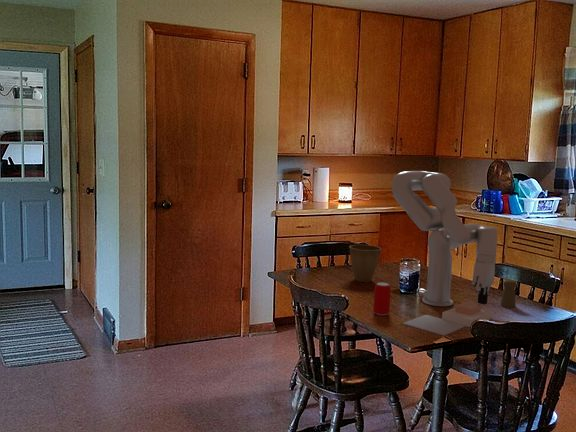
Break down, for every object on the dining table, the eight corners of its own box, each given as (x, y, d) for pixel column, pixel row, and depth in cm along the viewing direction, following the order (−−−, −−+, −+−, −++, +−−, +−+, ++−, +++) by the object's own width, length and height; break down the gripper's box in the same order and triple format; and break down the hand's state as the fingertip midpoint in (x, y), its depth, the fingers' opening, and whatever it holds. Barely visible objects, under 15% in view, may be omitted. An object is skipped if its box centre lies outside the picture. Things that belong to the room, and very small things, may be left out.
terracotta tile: (455, 311, 233) (455, 305, 233) (466, 307, 239) (467, 301, 239) (469, 315, 229) (470, 309, 228) (481, 310, 235) (481, 304, 235)
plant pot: (371, 286, 279) (373, 251, 277) (342, 280, 287) (344, 247, 285) (384, 279, 292) (386, 246, 289) (356, 274, 299) (357, 242, 297)
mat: (402, 324, 225) (402, 323, 225) (425, 315, 237) (425, 314, 237) (443, 335, 214) (444, 334, 214) (466, 326, 225) (466, 325, 225)
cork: (512, 309, 250) (514, 283, 248) (497, 305, 254) (500, 280, 252) (517, 306, 255) (520, 280, 253) (503, 303, 258) (505, 277, 257)
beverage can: (387, 311, 240) (389, 282, 238) (390, 316, 234) (392, 286, 232) (372, 311, 240) (373, 281, 238) (374, 316, 234) (376, 285, 232)
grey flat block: (441, 319, 232) (442, 312, 232) (462, 311, 244) (462, 304, 243) (471, 327, 224) (471, 319, 223) (490, 319, 235) (491, 311, 235)
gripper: (485, 254, 247) (482, 298, 250) (467, 258, 236) (464, 304, 239) (503, 257, 242) (499, 302, 244) (486, 262, 231) (482, 309, 234)
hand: (482, 303), depth 242 cm, fingers closed
